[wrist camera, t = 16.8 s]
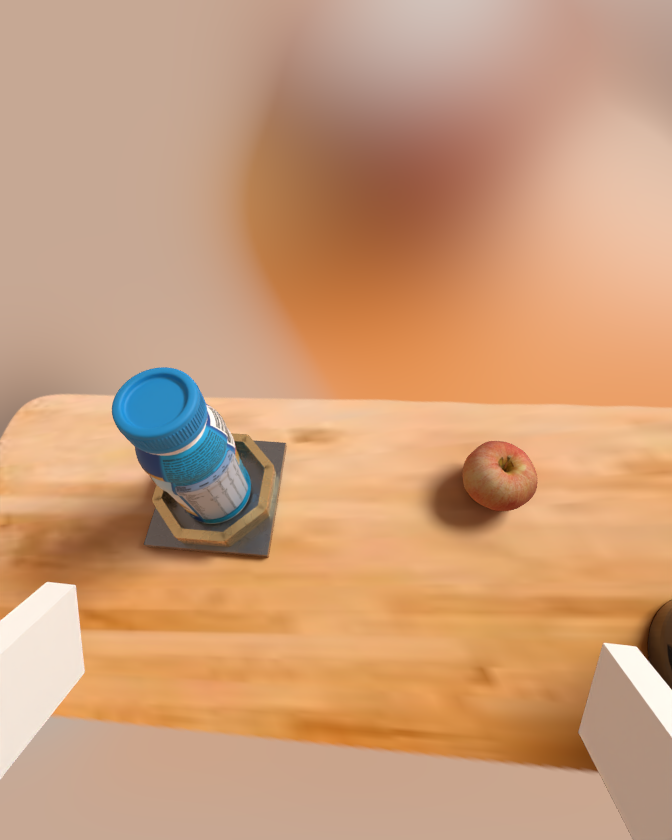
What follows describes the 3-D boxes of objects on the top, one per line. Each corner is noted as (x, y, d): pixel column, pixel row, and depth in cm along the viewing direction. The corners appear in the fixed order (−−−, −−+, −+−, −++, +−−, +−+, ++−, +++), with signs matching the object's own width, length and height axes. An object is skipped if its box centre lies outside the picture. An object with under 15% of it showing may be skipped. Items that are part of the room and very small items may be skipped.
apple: (446, 464, 52) (462, 433, 45) (505, 453, 53) (530, 422, 46) (468, 525, 48) (490, 502, 41) (531, 513, 49) (564, 488, 42)
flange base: (286, 446, 53) (283, 433, 50) (268, 557, 46) (263, 549, 43) (180, 438, 54) (171, 425, 51) (147, 546, 47) (134, 538, 44)
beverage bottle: (240, 533, 47) (183, 457, 29) (170, 518, 47) (76, 436, 30) (262, 466, 51) (224, 366, 34) (198, 453, 52) (128, 349, 34)
